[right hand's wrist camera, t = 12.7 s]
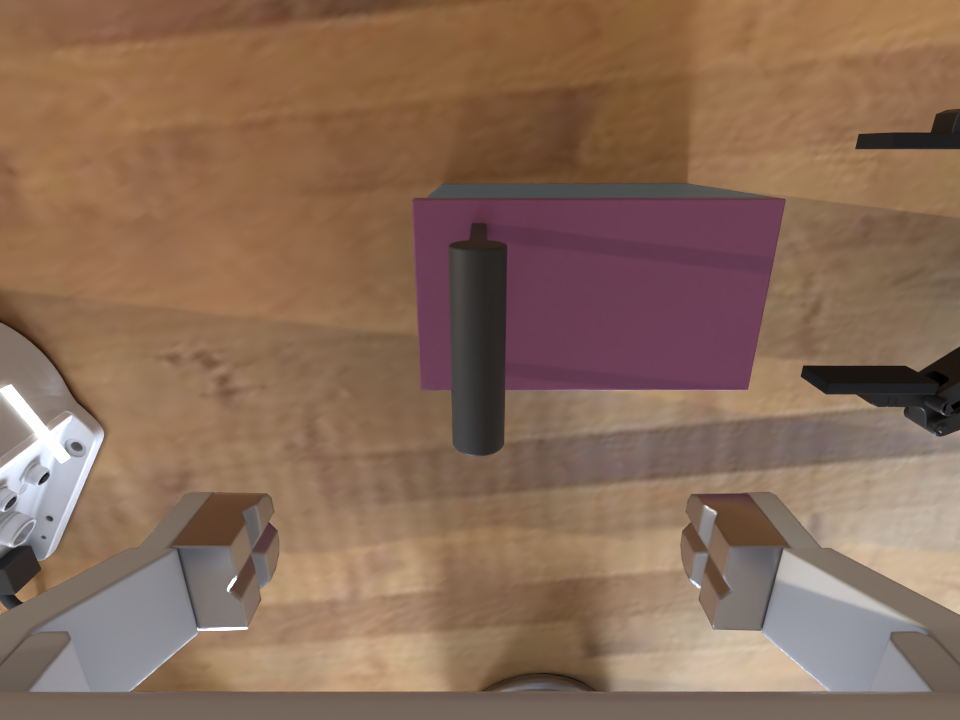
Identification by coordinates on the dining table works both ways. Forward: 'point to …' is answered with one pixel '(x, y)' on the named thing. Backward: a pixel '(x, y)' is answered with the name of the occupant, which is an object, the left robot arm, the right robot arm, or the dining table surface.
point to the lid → (586, 297)
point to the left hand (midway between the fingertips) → (840, 270)
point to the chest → (584, 191)
